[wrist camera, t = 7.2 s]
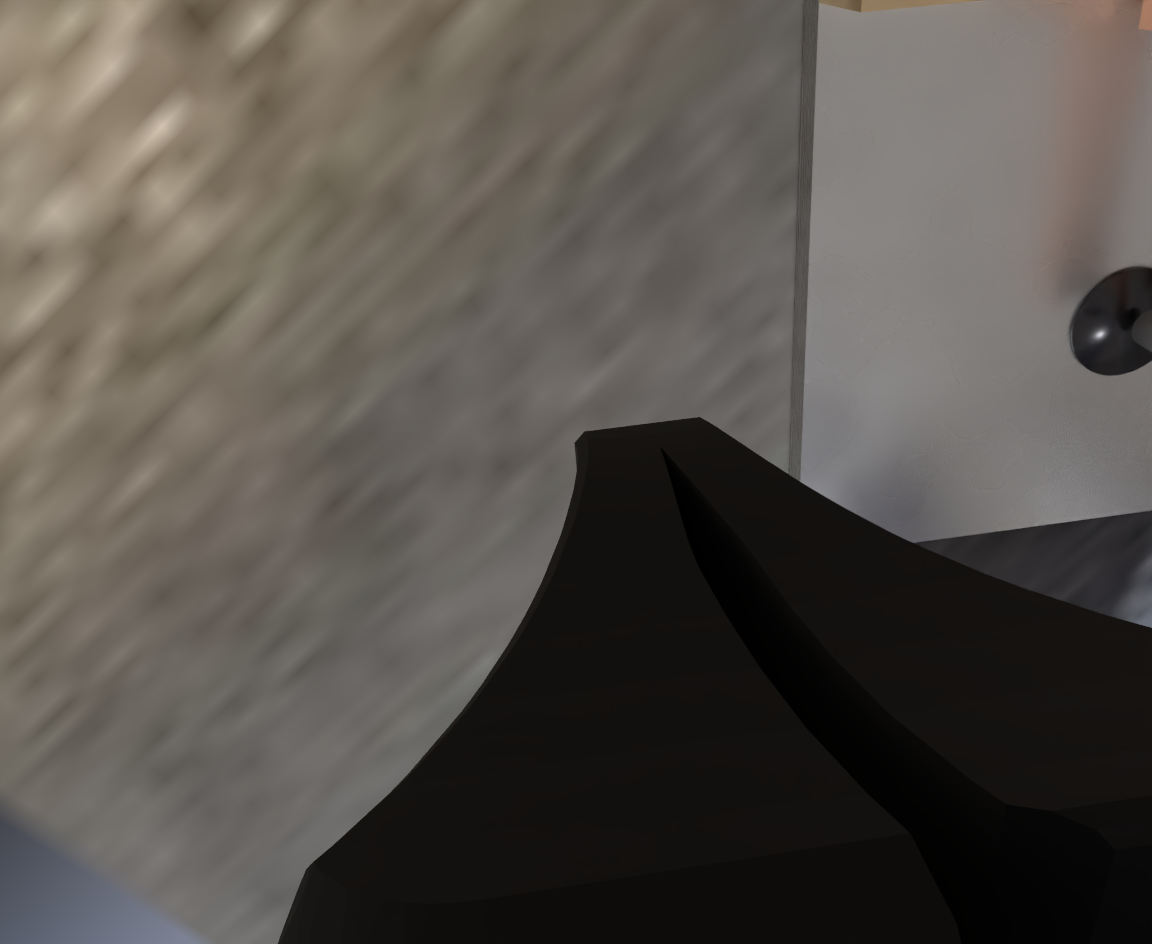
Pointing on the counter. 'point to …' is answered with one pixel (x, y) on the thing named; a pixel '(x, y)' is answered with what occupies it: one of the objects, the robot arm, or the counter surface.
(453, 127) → the counter surface
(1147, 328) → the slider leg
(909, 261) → the flange plate
